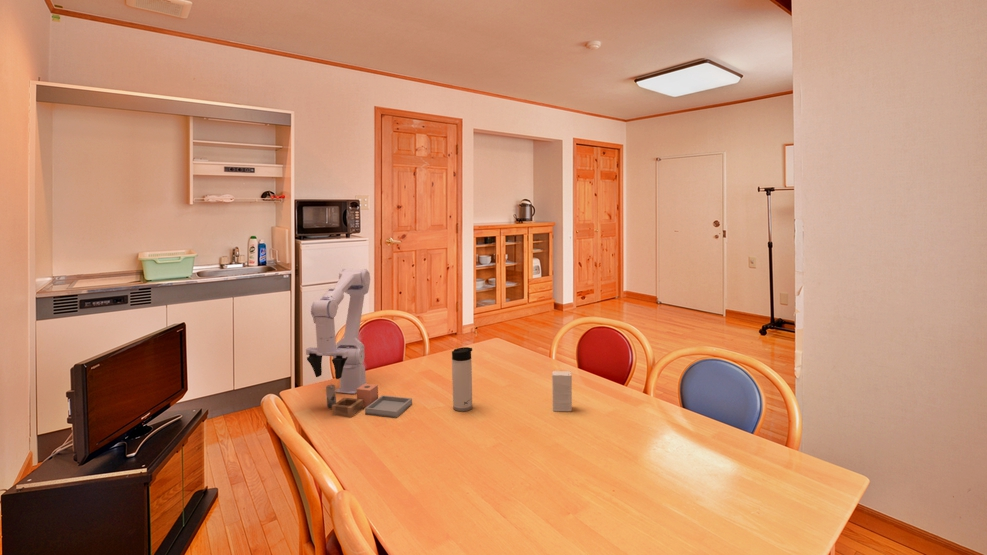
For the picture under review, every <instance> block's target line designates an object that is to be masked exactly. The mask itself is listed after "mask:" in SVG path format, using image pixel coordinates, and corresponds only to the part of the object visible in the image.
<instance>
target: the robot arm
mask: <svg viewBox="0 0 987 555" xmlns="http://www.w3.org/2000/svg"><path fill="white" fill-rule="evenodd" d="M370 284H371V276H370V272H369V271H368V269H367V268H363V269H359V268H358V269H355V268H354V269H353V268H341V270H340V272H339V273H338V281H337V282H336V284H335V285H334V286H330V287H329V288H328V289H327V291H326V292H325V293H324V294H323V295H322V296H321V298H320V299H316V300H315V301H313V302H312V304H311V306H310V307H311V308H310V314H311V316H312V318H313V320H312V322H313V324H315V335H316V347H308V348H306V349H305V355H307V357H306V361H307V362H308V363H309V364H310V366H311V368H312V370H313V374H314V375H315V377H316V378H318V377H321V376H322V373H323V372H322V371H323V369H322V367H323V366H322V359H323V356H324V357H332V359H331V361H332V366H333V367H334V368H333V369H334V375H335V379H336V380H339V387H338V388H337V389H335V393H338V394H339V393H341V394H349V395H350V394H351V395H355V394H357V392H356V389H357V388H359V387H360V386H362V385H363V384H368V383H367V382H366V381H367V379H366V367H365V365H364V364H363V363H364V361H365V358H366V357H365V345H364V344H363V342H361V340H359V333H360V327H361V320H362V314H363V307H364V299H365V295H366V294H368V293H369V290H370ZM344 293H346V294H347V295H349V296H350V297H349V303H348V309H347V315H346V320H345V321H346V322H345V328H344V334H343V338H341V339H340V340H338V341H336V329H335V317H336V316H337V313H338V309H339V305H340V304H341V303H342V301H343V300H344V298H345V294H344Z"/></svg>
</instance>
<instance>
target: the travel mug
mask: <svg viewBox="0 0 987 555" xmlns="http://www.w3.org/2000/svg"><path fill="white" fill-rule="evenodd" d="M472 351H473V347H468V346H465V347H457V348H455V349H453V350H452V351H451V373H452V376H451V377H452V405H453V407H452V408H453V410H455V411H457V412H468V411H471V410H472V409H473V374H472V372H473V371H472V369H473V368H472V366H473V365H472V363H473V361H472Z"/></svg>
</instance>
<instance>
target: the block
mask: <svg viewBox="0 0 987 555" xmlns="http://www.w3.org/2000/svg"><path fill="white" fill-rule="evenodd" d="M356 392H357V393H356V399H363V405H364V408H366V407H367V406H369V405H370V404H371V403H373V402H374V401H375V400H377V399H378V398H379V386H378V384H370V383H367V384H363V385H362V386H360V387H359V388H357V389H356Z"/></svg>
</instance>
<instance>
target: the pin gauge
mask: <svg viewBox="0 0 987 555" xmlns="http://www.w3.org/2000/svg"><path fill="white" fill-rule="evenodd" d="M335 390H336V385H334V384H329V385H326V386H325V391H326V405H327V406H326V408H327V409H332V405H334V404H335V403H337V396H336V395H337V394H336V392H335Z"/></svg>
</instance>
